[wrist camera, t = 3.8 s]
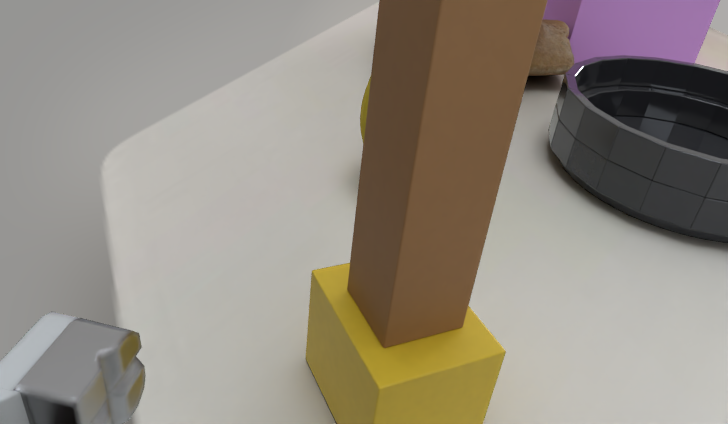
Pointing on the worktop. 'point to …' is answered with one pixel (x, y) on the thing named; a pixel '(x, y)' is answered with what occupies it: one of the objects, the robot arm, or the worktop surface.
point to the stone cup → (552, 50)
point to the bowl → (648, 139)
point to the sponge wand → (423, 216)
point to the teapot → (634, 27)
